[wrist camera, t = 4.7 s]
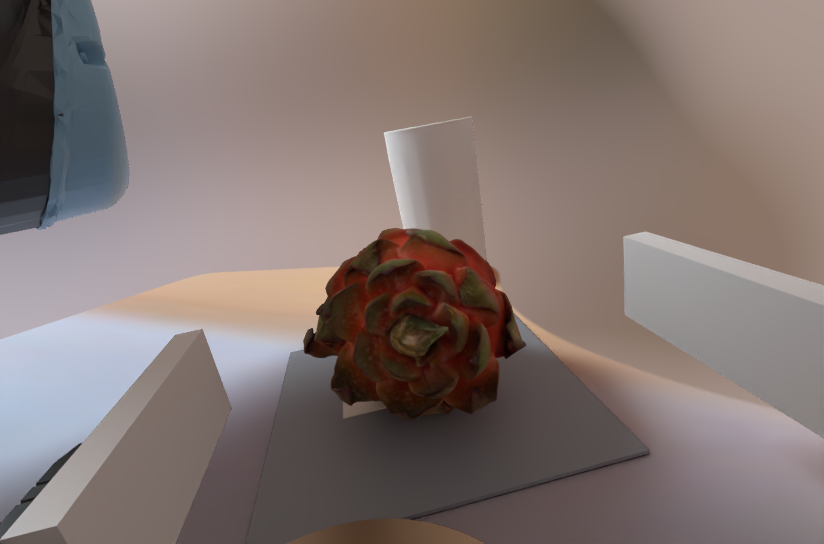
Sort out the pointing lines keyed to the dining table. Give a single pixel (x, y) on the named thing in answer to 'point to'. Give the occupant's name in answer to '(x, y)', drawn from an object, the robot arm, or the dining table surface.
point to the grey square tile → (425, 447)
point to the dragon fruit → (415, 326)
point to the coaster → (387, 533)
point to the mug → (438, 180)
